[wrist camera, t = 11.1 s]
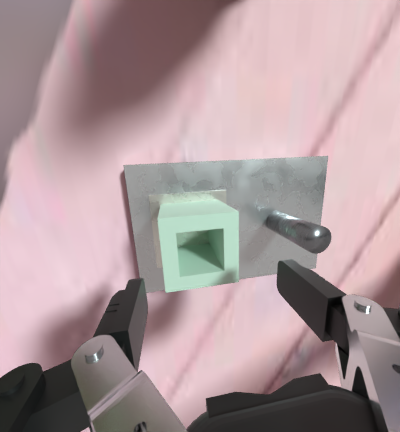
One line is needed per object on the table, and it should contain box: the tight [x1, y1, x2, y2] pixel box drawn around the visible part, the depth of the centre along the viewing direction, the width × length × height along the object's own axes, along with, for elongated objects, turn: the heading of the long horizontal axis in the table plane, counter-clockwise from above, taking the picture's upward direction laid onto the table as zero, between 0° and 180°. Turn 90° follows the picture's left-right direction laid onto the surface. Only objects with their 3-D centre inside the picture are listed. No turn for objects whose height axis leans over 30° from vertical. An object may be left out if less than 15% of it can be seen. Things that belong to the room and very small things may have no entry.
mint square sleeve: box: [157, 200, 239, 293], centre depth 17 cm, size 6×6×6 cm
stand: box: [124, 156, 331, 293], centre depth 19 cm, size 22×14×8 cm, turn 93°
